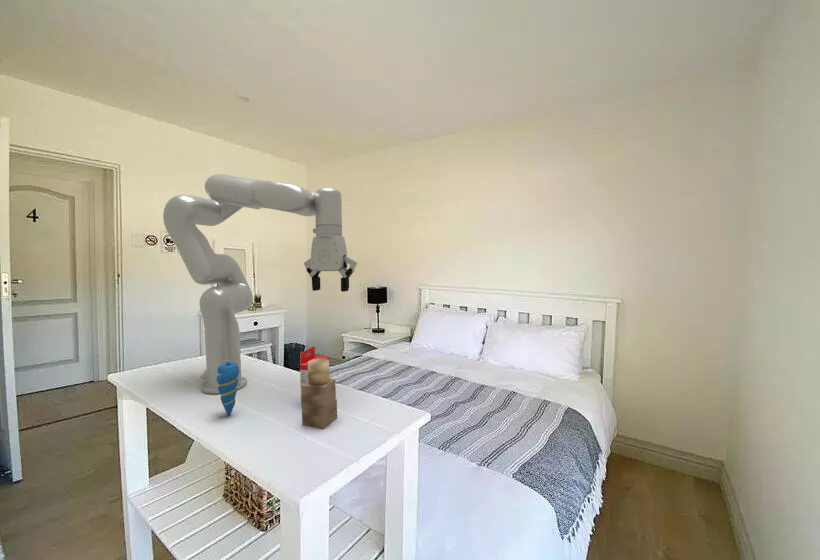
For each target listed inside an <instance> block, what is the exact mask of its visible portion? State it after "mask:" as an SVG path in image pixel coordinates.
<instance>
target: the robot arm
mask: <svg viewBox="0 0 820 560" xmlns="http://www.w3.org/2000/svg"><path fill="white" fill-rule="evenodd" d="M204 190H205V193H206V195H207V196H208V197H209V198H210V199H209V198H204V197H200V196H196V195H191V194H179V195H175V196H173V197H171V198H170V199H169V200H168V201H167V202H166V204H165V206H164V209H163V213H162V218H163V225H164V227H165V230H166V232H167V233H168V235H169V237H170V239H171V240H172V242H173V243H174V245H175V247H176V249H177V250H178V253H179V255H180V257H181V259H182V261H183V263H184V265H185V267H186V269H187V271H188V274H189V276H190V277H191V278H192V280H193V281H194V282H195V283H196V284H198V285H204V286H208V285H209V286H210V285H215V286H212V287H210V288H207V289H206V290H205V291H204V292H203V293H202V294H201V296H200V298H199V309H200V312H201V316H202V322H203V329H204V345H205V364H206V366H205V367H206V370H204V371H203V373H201V374H200V375H199V378H200V379H204V383H203V384H202V385H201V392H203V393H205V394H208V395H209V394H211V395H214V394H215V395H217V394H219V395H220V392H219V390H218V386H219V384H218V382H217V376H218V370H217V369H218V367H219V366H220V365H222V364H225V363H226V361H227V360H230V363H236V364H237V365H238V367H239V374H238V384H237V386H236V389H237V390H239V389H242V388H244V387H246V385H247V384H248V379H247V378H246V377H244V376H242V364H241V363H242V361H241V341H240V334H241V333H240V326H239V323H238V320H237V318H236V316H235V314H238V313H241V312H244V311H247V310H248V309H249V308H251V306H252V304H253V302H254V298H253V296H254V295H253V292H252V289H251V286H250V285H249V283H248V281H247V278H246V276H245V275H244V273H243V271H242V269H241V267H240V265H239V263H238V262H237V261H236V260H235V259H234V258H233V257H232V256H230V255H228V254H223V253H215V251H214V250H213V248H212V246H211V244H210V243H209V241H208V238H207V237H206V236H205V234H204V233H203V232H202V231H201V230H200V229H199V228H198V227H197V225H198V226H206V227H213V226H218V225H220V224H222V223H223V222H225V221H227V220H228V219H229V218H231V217H233V215H235V214H236V213H237V212H239V211H240V210H241V209H242V208H249V209H254V210H261V209H271V210H275V211H282V212H287V213H292V214H297V215H299V216H303V217H312V216H313V217H314V216H315V218H314V219H315V226H314V227H315V228H314V229H312V232H313V234H315V236H313V238H312V243H311V248H310V249H311V251H310V258H309V259H307V260H306V261H304V262H303V266H304V267H305V269H306V272H307V273H308V274H309V276H310V278H311V287H312V289H311V290H312V291H314V292H315V291H320V290H321V276H320V275H321V272H338V273H339V274H340V276H342V277H341V278H340V291H341V292H343V293H344V292H348V291H349V288H350V277H352V274H353V273H354V272H355V269H356V268H357V265H358V262H357V261H356V260H354V259H352V258H350V257H348V251H347V245H346V239H345V237H344V236H343V216H342V215H343V212H342V211H343V209H342V208H343V207H342V203H343V202H342V193H341V191H340V190H339V189H336V188H331V187H329V188H327V187H323V188H319V189H317V190H316V191H311V190H309V189H306V188H304V187H302V186H299V185H295V184H290V183H289V184H288V183H284V182H277V181H271V180H261V179H253V178H247V177H241V176H235V175H228V174H220V173H219V174H213V175H210V176H209V177H208V178H207V179H206V181H205V183H204ZM348 265H349V268H348ZM229 358H230V359H229Z"/></svg>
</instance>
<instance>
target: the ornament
mask: <svg viewBox="0 0 820 560" xmlns="http://www.w3.org/2000/svg"><path fill="white" fill-rule="evenodd" d="M229 359H230V358H229ZM217 370H218V376H217V382H218V384H219V386H218V390H219V392H220V393H219V395H220V398H219V399H220V401H221V405H222V407H223V408H224V410H225V411H224V412H225V413H226V416H229V417H230V416H231V414H232V412H233V410H234V407H235V405H236V396H237V389H236V386H237V384H238V374H239V367H238V365H237V364H236V363H230V360H227V361H226V363H225V364H222V365H220V366H219V367H218V369H217Z"/></svg>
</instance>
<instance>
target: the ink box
mask: <svg viewBox="0 0 820 560" xmlns="http://www.w3.org/2000/svg"><path fill="white" fill-rule="evenodd" d="M315 352H316V346H315V345H314V346H312V347H310V348H307V349H305V350H304V351H301V352H300V357H299V358H300V359H299V362H300V364H299V373H300V374H299V376H300V377H299V378H300V381H299V382H300V386H301V385H303V384H304V383H306V382H307V381H308V362H309V361H311V360H314V359H327V360H329V361H330V356H325V355H316V354H315ZM308 353H309V354H308ZM300 406H301V407H302V392H301V391H300Z"/></svg>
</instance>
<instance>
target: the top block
mask: <svg viewBox="0 0 820 560" xmlns="http://www.w3.org/2000/svg"><path fill="white" fill-rule="evenodd" d="M301 392H302V406H307V407H318V408H326V407H327V406H328V405H329V404H330V403H331V402H332V401H333V400H334V399H337V397H336V396H337V394H336V393H337V391H336V378H334V377H333V378H331V377H330V381H329V383H327V384H324V385H319V386H314V385H310V384H309V383H308V381H307V382H306V383H304V384H303V385H301V384H300V393H301ZM302 406H301V407H302Z"/></svg>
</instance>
